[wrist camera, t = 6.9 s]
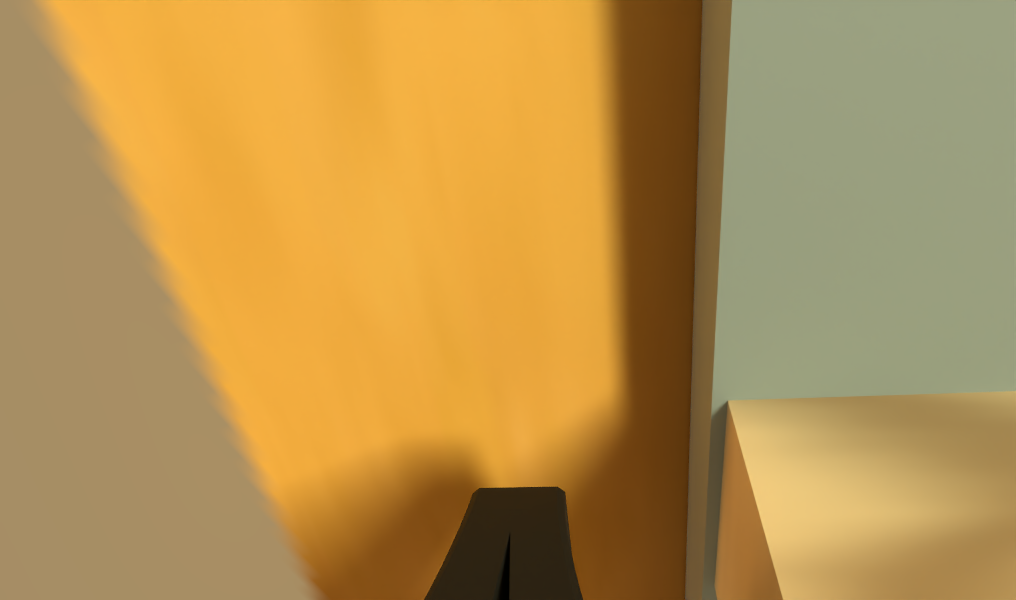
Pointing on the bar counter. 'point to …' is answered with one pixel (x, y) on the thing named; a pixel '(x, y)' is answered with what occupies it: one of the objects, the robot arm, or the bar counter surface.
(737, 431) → the beech block
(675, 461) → the bar counter surface
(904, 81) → the board
